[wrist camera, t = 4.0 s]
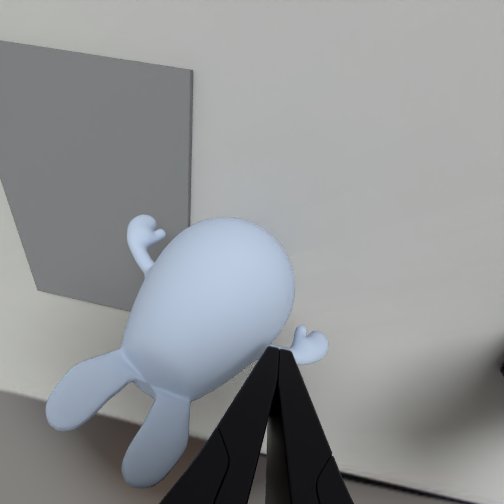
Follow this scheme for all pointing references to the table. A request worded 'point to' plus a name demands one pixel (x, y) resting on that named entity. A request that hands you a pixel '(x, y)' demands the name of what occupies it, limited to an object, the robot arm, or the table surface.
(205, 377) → the toy figure
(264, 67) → the table surface
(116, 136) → the mat
